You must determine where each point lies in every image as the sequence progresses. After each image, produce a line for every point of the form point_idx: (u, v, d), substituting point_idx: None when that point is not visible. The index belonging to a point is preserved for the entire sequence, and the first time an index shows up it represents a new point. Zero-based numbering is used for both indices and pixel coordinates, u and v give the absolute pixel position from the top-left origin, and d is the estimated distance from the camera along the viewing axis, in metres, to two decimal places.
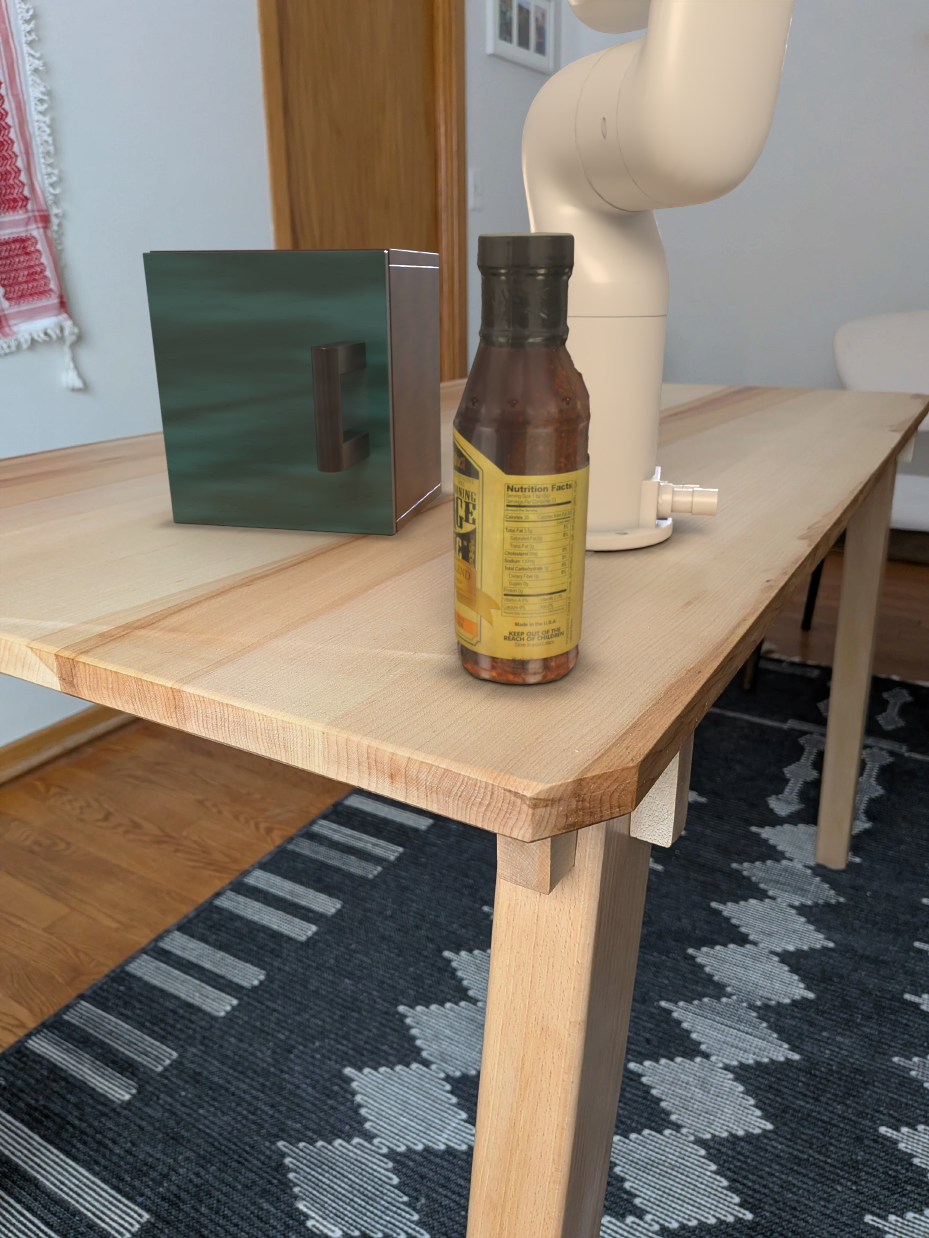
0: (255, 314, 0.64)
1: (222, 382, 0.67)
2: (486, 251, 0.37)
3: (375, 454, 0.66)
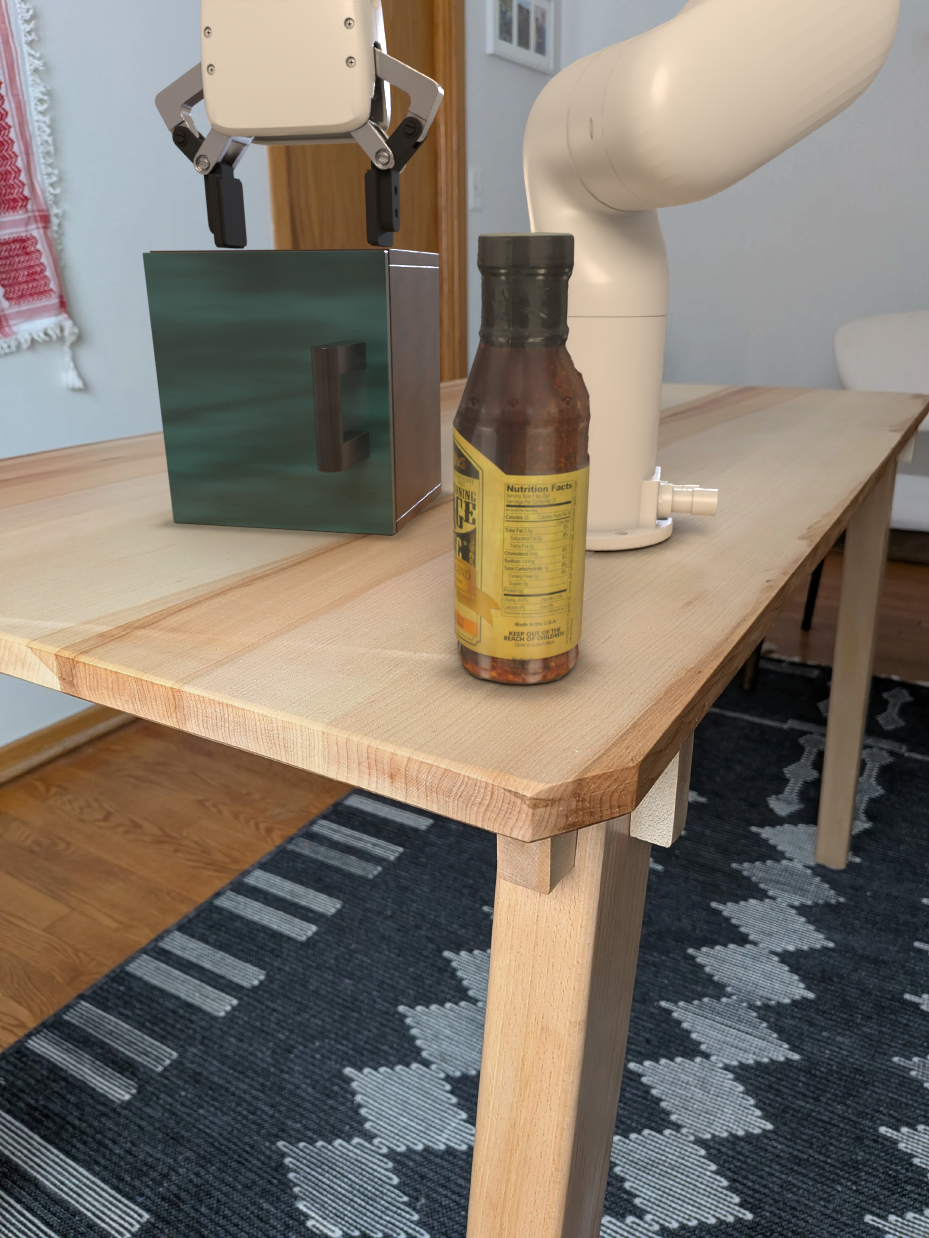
0: (255, 314, 0.64)
1: (222, 382, 0.67)
2: (486, 251, 0.37)
3: (375, 454, 0.66)
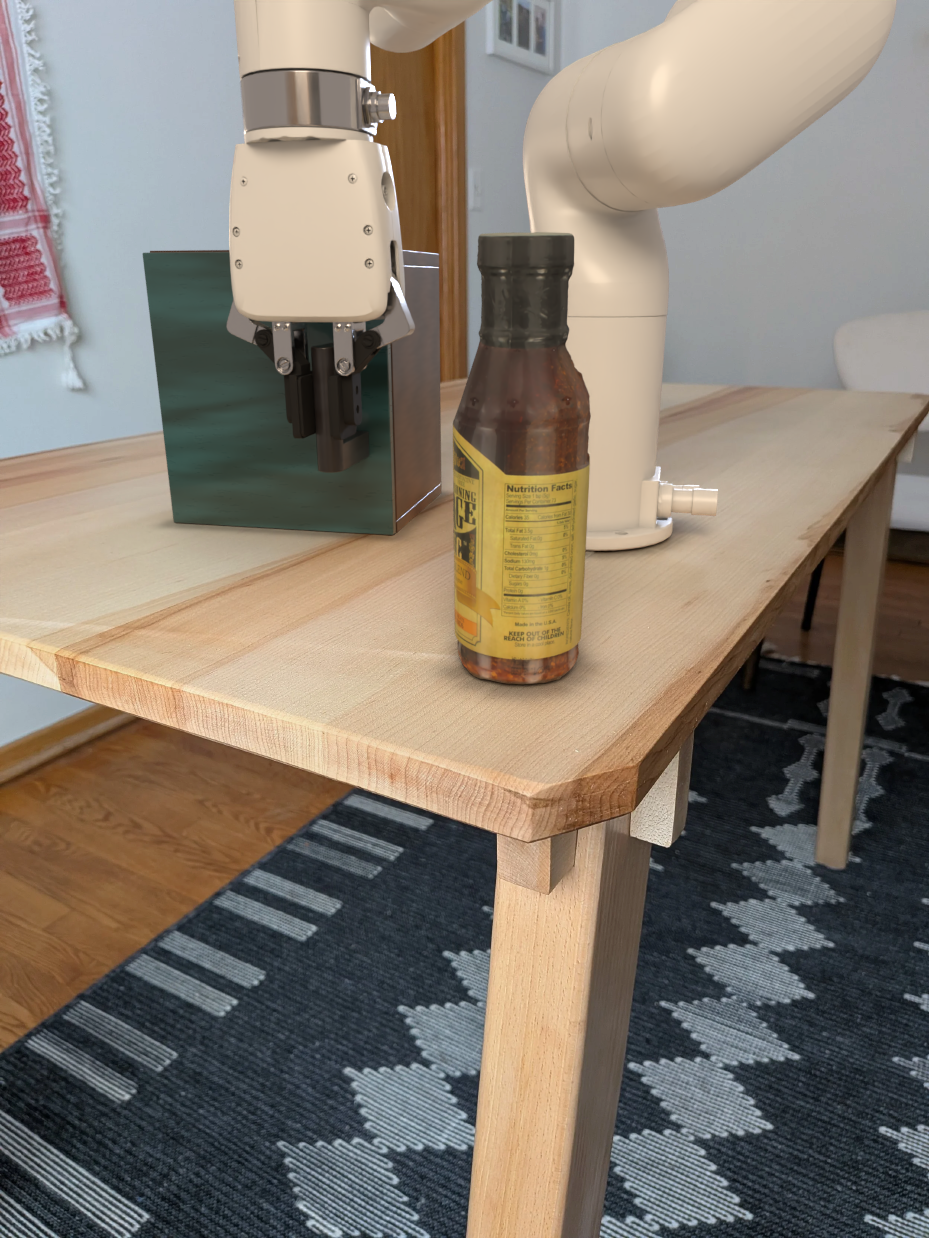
0: None
1: (222, 382, 0.67)
2: (486, 251, 0.37)
3: (375, 454, 0.66)
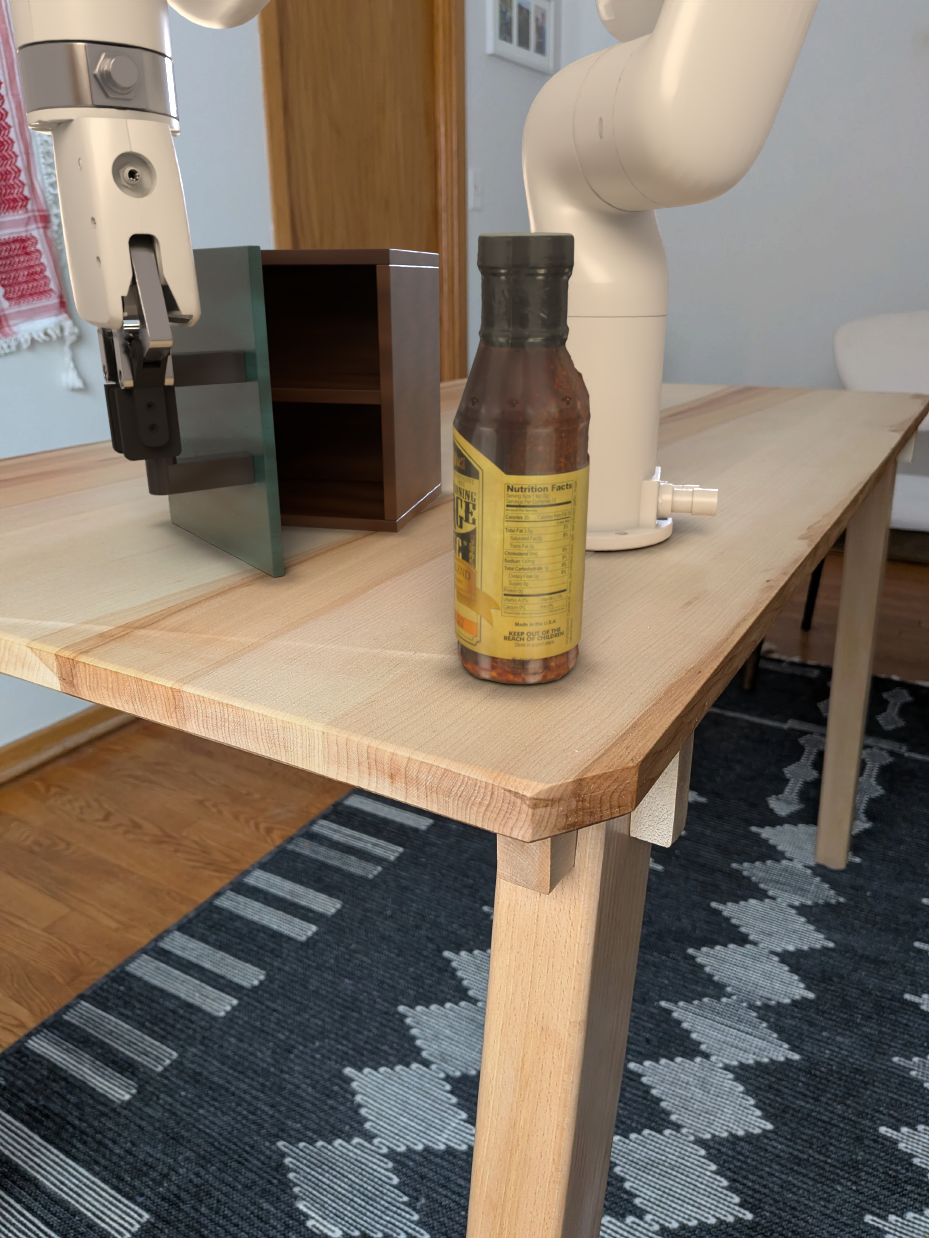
0: None
1: (180, 387, 0.64)
2: (486, 251, 0.37)
3: (258, 482, 0.57)
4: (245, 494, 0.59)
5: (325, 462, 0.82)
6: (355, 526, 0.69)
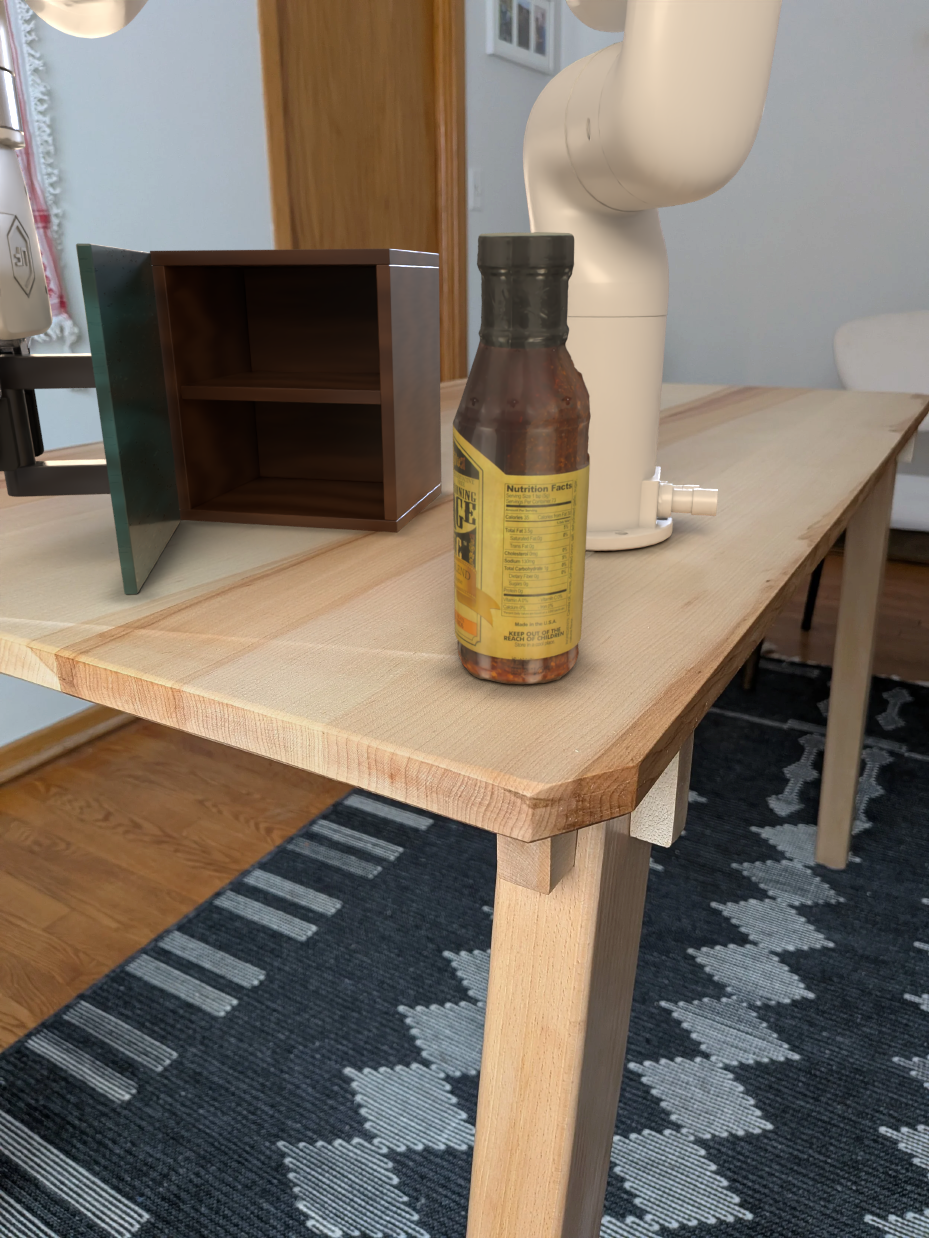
0: None
1: None
2: (486, 251, 0.37)
3: None
4: None
5: (325, 462, 0.82)
6: (355, 526, 0.69)
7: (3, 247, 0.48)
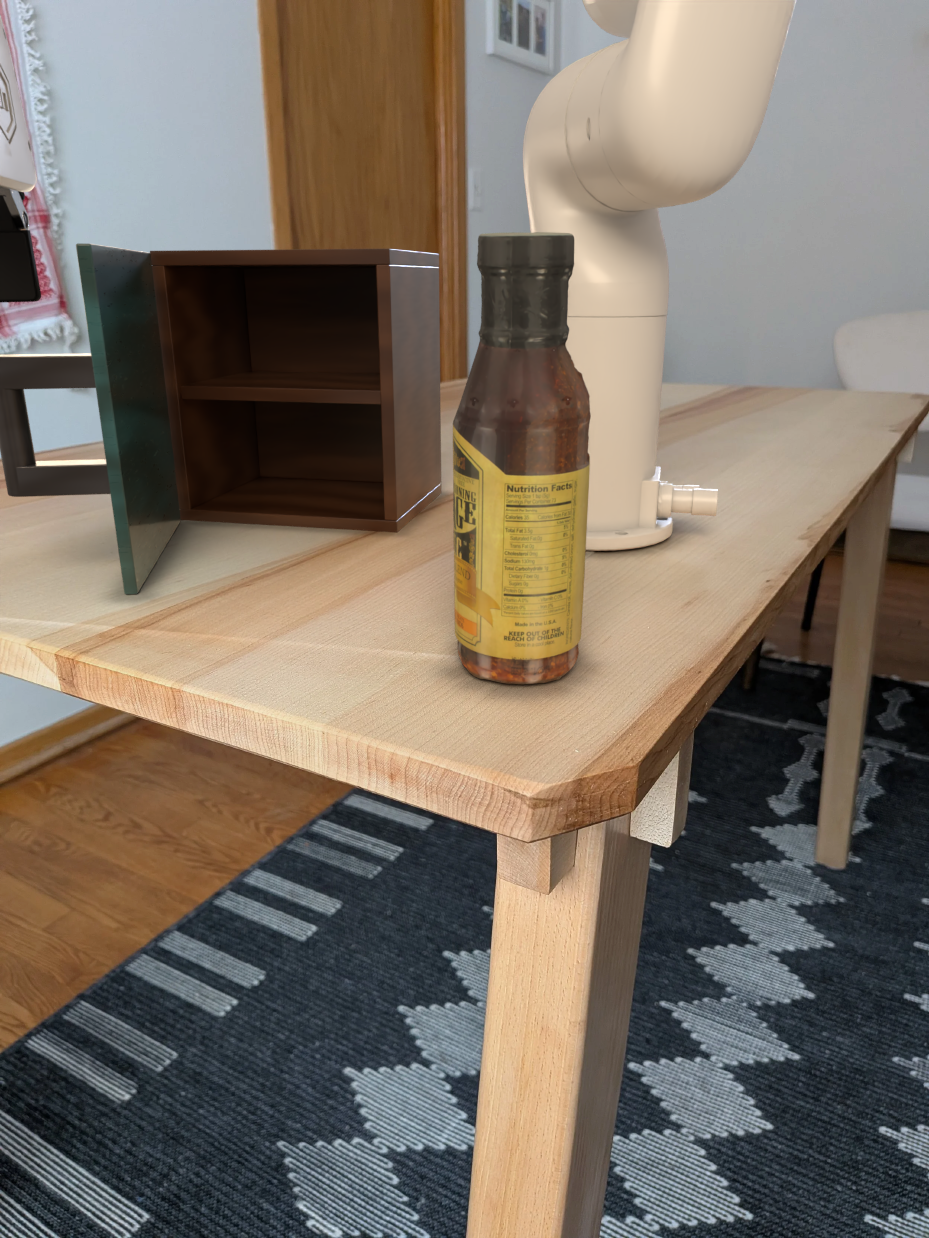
0: None
1: None
2: (486, 251, 0.37)
3: None
4: None
5: (325, 462, 0.82)
6: (355, 526, 0.69)
7: None
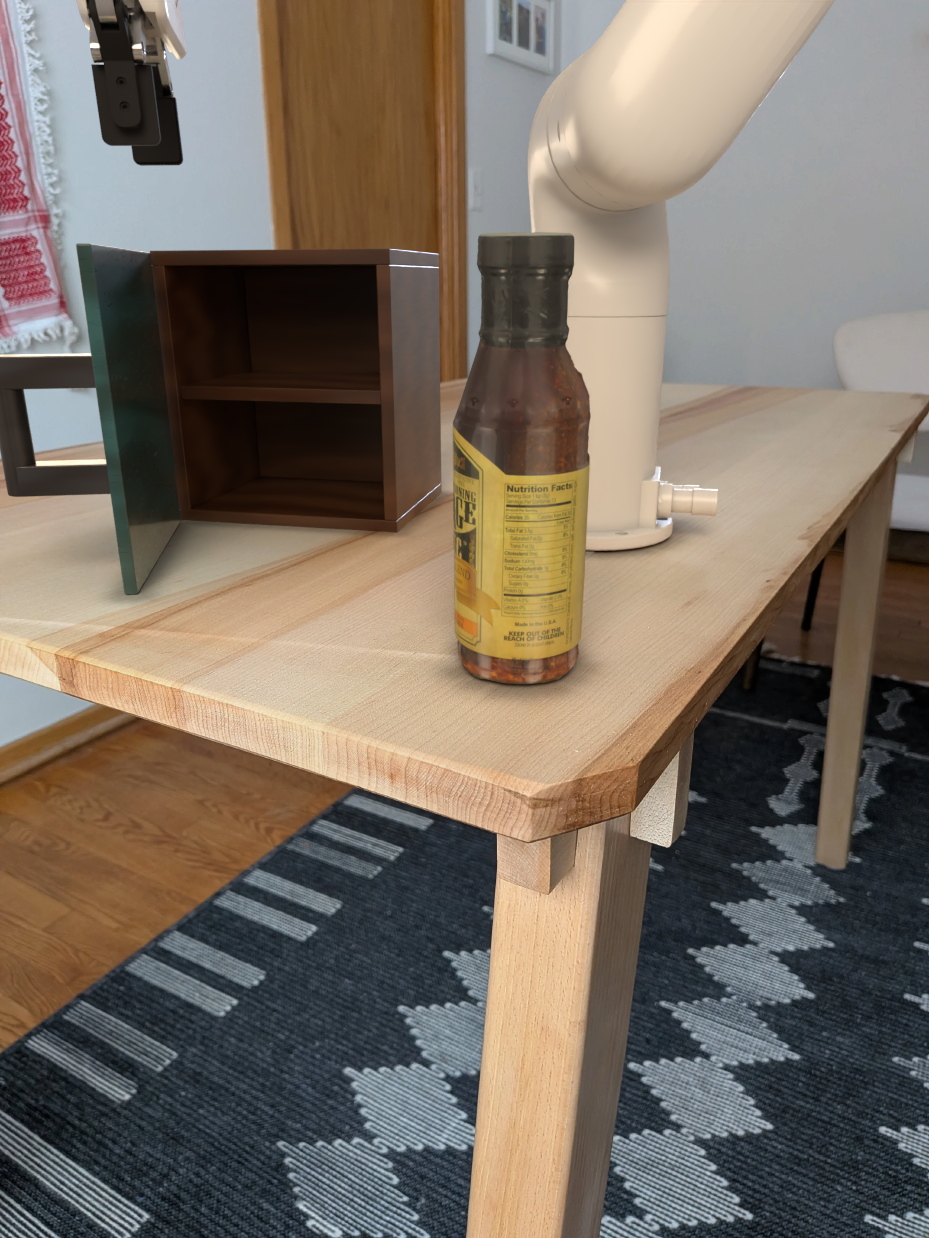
0: None
1: None
2: (485, 251, 0.37)
3: None
4: None
5: (325, 462, 0.82)
6: (355, 526, 0.69)
7: None
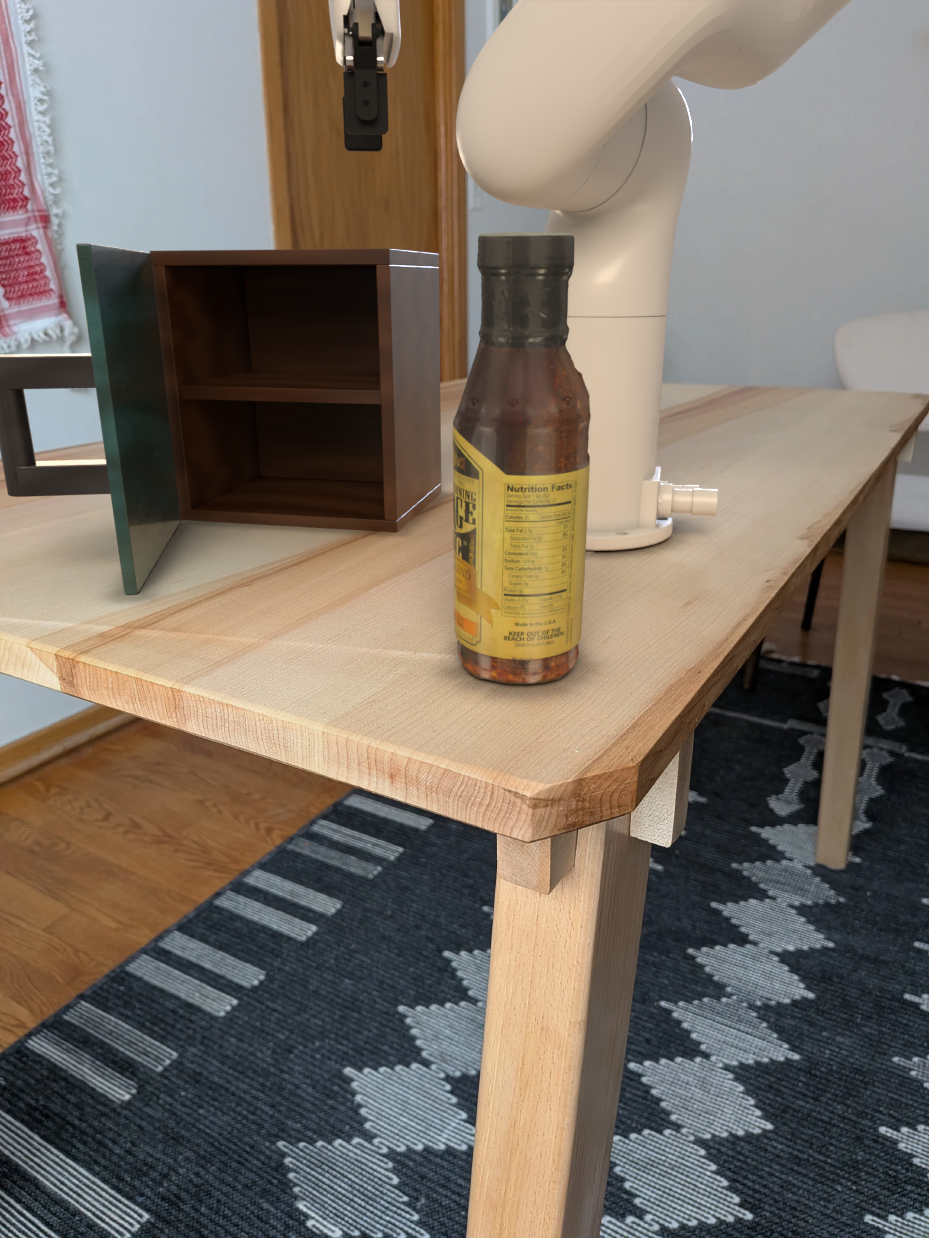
0: None
1: None
2: (486, 251, 0.37)
3: None
4: None
5: (325, 462, 0.82)
6: (355, 526, 0.69)
7: None
